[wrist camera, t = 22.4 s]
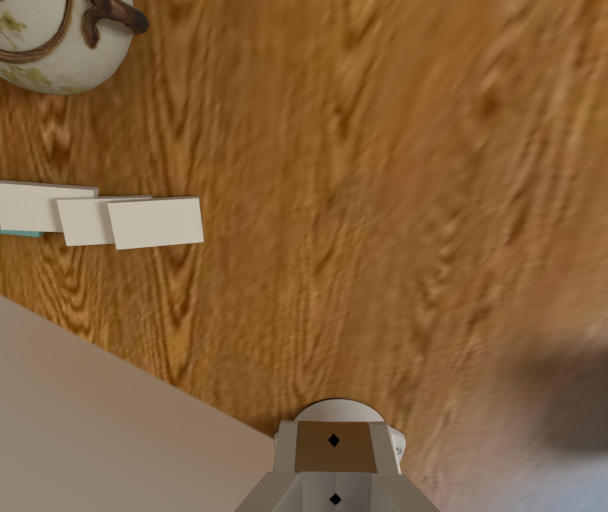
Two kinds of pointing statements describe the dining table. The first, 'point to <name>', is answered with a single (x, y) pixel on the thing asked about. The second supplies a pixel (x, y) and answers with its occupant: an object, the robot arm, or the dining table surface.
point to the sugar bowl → (65, 42)
